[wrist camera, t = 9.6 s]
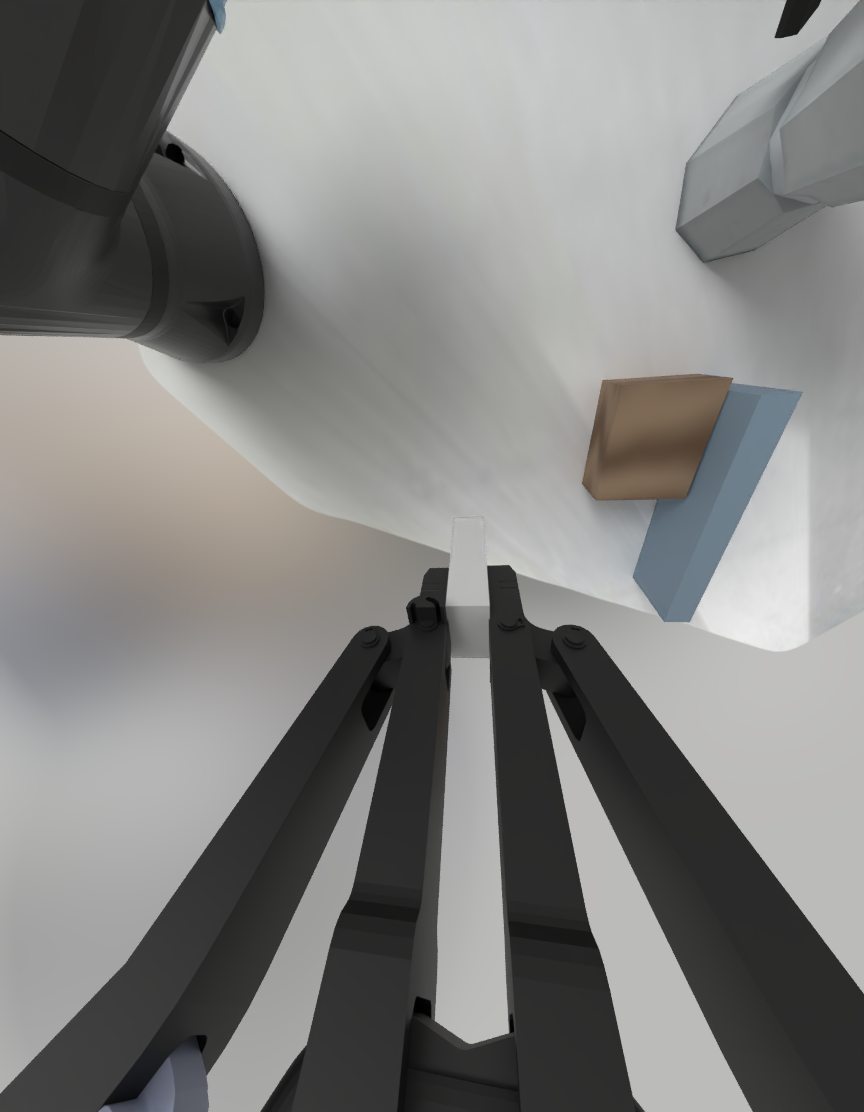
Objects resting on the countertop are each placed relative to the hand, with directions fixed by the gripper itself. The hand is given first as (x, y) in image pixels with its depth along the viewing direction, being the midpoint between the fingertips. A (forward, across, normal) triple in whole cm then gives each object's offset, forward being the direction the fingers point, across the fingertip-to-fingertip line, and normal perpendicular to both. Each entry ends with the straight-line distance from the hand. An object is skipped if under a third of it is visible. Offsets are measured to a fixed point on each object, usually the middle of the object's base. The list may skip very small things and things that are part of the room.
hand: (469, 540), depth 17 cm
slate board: (+20, +22, -8) cm, 31 cm away
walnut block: (+21, +16, -1) cm, 26 cm away
